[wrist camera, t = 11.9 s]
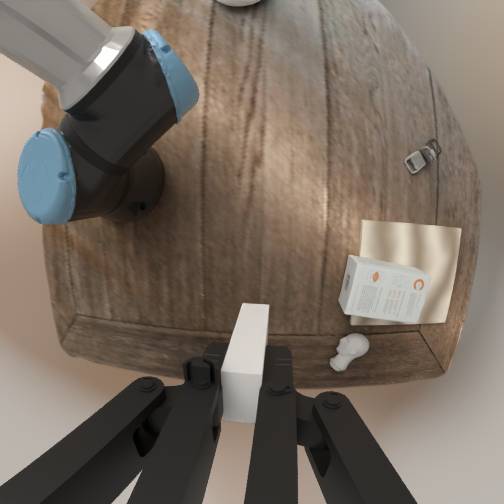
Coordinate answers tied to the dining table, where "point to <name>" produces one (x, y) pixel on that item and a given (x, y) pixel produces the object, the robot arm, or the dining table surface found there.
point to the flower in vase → (238, 2)
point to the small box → (383, 290)
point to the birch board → (414, 261)
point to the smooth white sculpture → (349, 350)
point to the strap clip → (418, 159)
